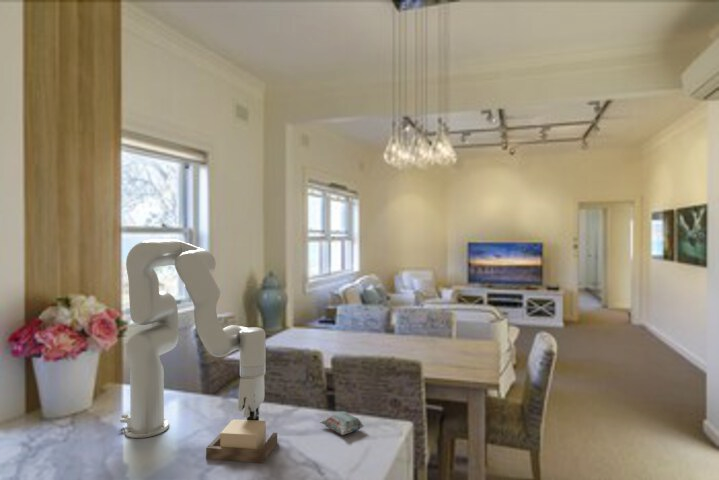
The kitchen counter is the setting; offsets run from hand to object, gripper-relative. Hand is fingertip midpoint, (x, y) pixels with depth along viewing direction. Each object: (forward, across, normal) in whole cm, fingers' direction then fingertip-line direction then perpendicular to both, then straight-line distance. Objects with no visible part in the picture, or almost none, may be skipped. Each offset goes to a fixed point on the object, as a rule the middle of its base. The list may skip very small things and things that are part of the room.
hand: (252, 429), depth 133 cm
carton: (+3, +7, 0) cm, 8 cm away
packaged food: (+3, -9, +25) cm, 27 cm away
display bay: (+3, +7, 0) cm, 7 cm away
